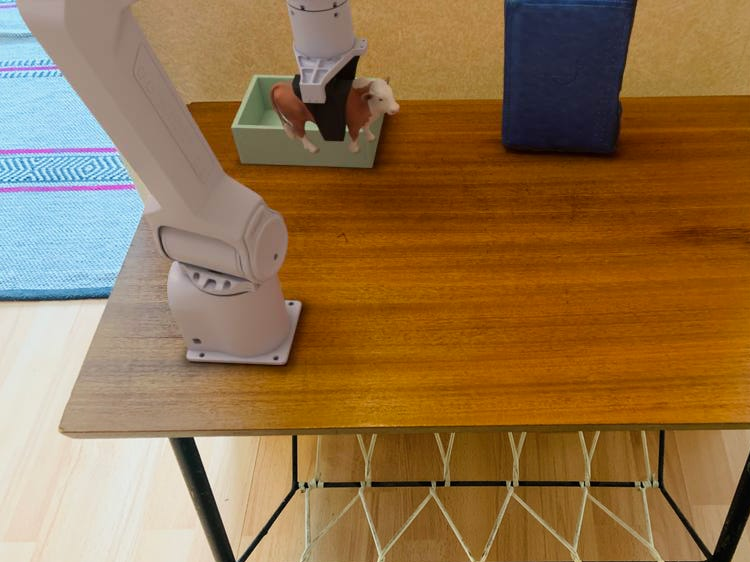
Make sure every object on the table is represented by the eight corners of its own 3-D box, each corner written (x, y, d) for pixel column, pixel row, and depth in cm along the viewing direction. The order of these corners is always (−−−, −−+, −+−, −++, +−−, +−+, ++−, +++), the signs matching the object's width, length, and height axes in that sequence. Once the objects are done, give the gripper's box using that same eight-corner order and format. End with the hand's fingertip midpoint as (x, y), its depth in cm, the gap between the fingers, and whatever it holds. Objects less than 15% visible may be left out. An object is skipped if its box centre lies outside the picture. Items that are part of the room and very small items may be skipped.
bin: (241, 163, 92) (230, 127, 88) (262, 110, 99) (253, 74, 95) (372, 168, 92) (367, 131, 88) (384, 114, 99) (380, 78, 95)
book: (616, 135, 96) (643, -29, 80) (618, 162, 93) (647, -5, 77) (501, 130, 97) (505, -34, 81) (498, 156, 93) (503, -10, 78)
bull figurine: (401, 163, 81) (394, 92, 74) (276, 152, 82) (260, 81, 76) (409, 139, 83) (404, 68, 77) (288, 129, 85) (273, 58, 78)
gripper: (348, 39, 66) (366, 170, 76) (372, -39, 75) (385, 88, 85) (266, 36, 66) (295, 167, 76) (300, -41, 75) (322, 86, 86)
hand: (338, 125), depth 81 cm, fingers closed on bull figurine, 4 cm apart
